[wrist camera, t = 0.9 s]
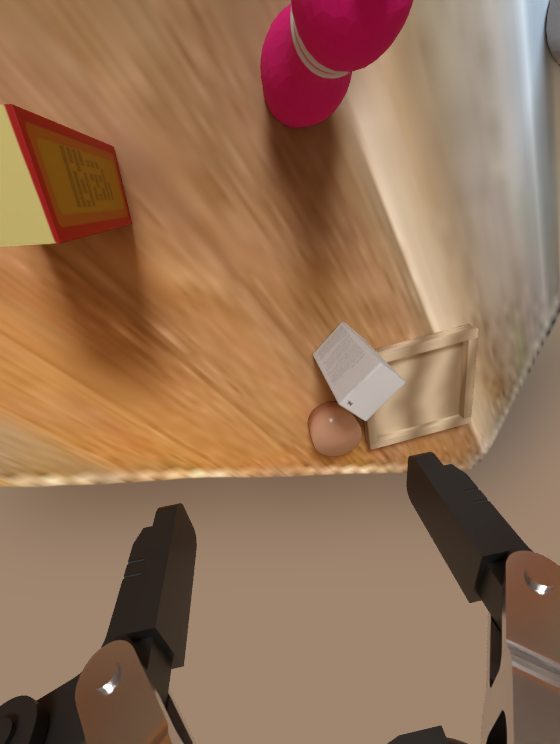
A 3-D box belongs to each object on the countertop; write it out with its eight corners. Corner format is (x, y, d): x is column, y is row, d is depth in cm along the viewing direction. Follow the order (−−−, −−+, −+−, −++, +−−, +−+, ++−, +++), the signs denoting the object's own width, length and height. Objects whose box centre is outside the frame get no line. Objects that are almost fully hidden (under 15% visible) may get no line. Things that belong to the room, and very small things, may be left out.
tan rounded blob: (349, 395, 47) (358, 411, 43) (355, 431, 50) (364, 448, 47) (303, 408, 47) (309, 425, 43) (312, 443, 50) (317, 461, 47)
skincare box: (334, 370, 44) (364, 423, 34) (311, 354, 43) (336, 405, 32) (365, 337, 42) (407, 383, 32) (342, 319, 41) (380, 361, 30)
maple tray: (468, 324, 43) (478, 329, 42) (462, 415, 51) (470, 422, 50) (354, 355, 44) (359, 361, 42) (366, 441, 51) (370, 449, 50)
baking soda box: (113, 146, 30) (7, 102, 16) (132, 223, 33) (57, 243, 19) (4, 150, 29) (-211, 106, 15) (34, 229, 32) (-120, 254, 18)
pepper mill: (339, 125, 31) (474, 33, 14) (267, 142, 31) (309, 72, 14) (330, 21, 27) (496, -281, 10) (248, 41, 27) (273, -230, 10)
